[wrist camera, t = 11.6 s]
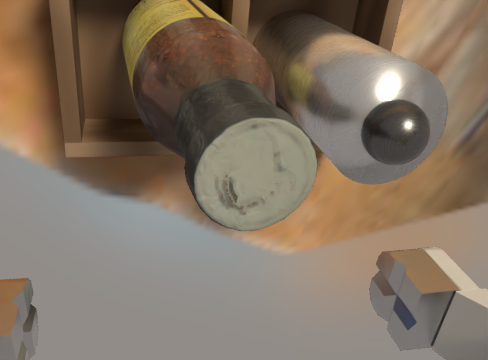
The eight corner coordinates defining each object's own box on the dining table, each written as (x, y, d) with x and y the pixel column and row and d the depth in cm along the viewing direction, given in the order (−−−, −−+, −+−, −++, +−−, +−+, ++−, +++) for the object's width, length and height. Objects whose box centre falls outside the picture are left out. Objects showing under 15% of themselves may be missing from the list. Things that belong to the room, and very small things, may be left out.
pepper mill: (336, 12, 32) (495, 78, 19) (322, 93, 35) (451, 202, 22) (255, 7, 31) (364, 75, 17) (247, 93, 34) (335, 209, 20)
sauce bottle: (117, 74, 31) (117, 260, 14) (128, -25, 28) (145, 59, 11) (211, 89, 33) (310, 266, 16) (229, -2, 30) (371, 97, 13)
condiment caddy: (371, -33, 32) (409, -26, 28) (339, 124, 38) (367, 150, 34) (54, -62, 27) (42, -58, 23) (72, 127, 33) (65, 157, 28)
